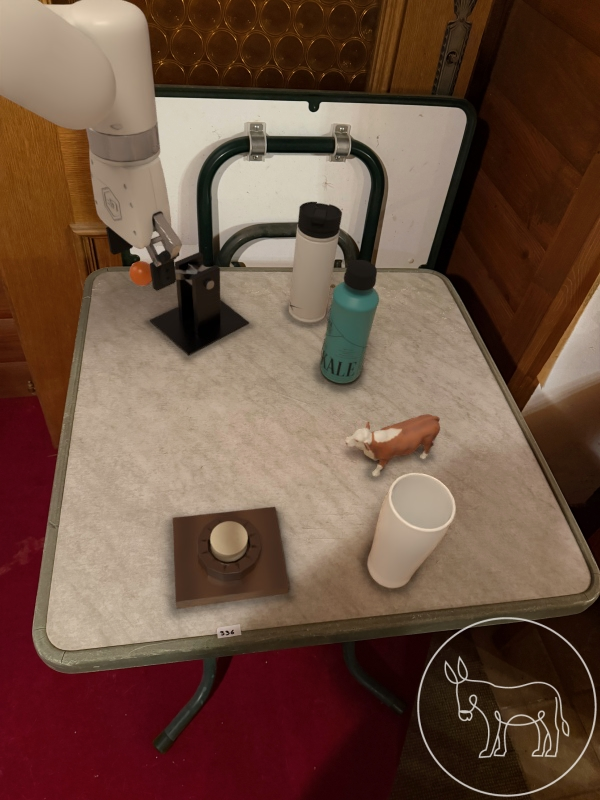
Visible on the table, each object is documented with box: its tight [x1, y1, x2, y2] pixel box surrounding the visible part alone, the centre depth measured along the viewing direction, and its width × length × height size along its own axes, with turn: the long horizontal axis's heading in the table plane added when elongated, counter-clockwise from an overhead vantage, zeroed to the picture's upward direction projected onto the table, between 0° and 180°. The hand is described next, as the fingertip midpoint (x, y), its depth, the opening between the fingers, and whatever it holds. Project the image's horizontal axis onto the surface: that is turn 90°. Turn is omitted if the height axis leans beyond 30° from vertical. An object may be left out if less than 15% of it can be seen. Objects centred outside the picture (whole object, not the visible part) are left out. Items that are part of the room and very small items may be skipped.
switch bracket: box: [149, 251, 250, 357], centre depth 85 cm, size 12×10×12 cm
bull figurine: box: [344, 413, 441, 477], centre depth 73 cm, size 4×13×8 cm, turn 111°
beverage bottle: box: [319, 259, 380, 384], centre depth 78 cm, size 6×7×20 cm
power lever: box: [128, 260, 209, 287], centre depth 78 cm, size 13×3×3 cm, turn 134°
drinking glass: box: [366, 472, 457, 589], centre depth 60 cm, size 7×7×15 cm
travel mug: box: [287, 201, 343, 325], centre depth 87 cm, size 6×7×20 cm
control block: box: [172, 506, 290, 610], centre depth 63 cm, size 12×10×4 cm
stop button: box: [210, 521, 248, 562], centre depth 61 cm, size 4×4×2 cm
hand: (142, 267), depth 74 cm, fingers open, 9 cm apart
